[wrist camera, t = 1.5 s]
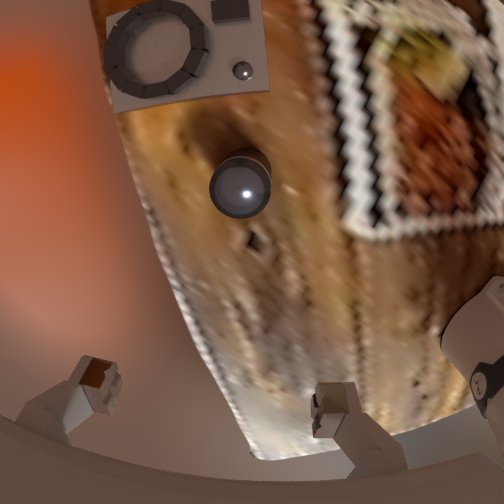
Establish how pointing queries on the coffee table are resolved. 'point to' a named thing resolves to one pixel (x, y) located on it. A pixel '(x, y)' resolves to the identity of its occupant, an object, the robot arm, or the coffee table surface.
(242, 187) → the lens
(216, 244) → the coffee table surface
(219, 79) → the camera body
